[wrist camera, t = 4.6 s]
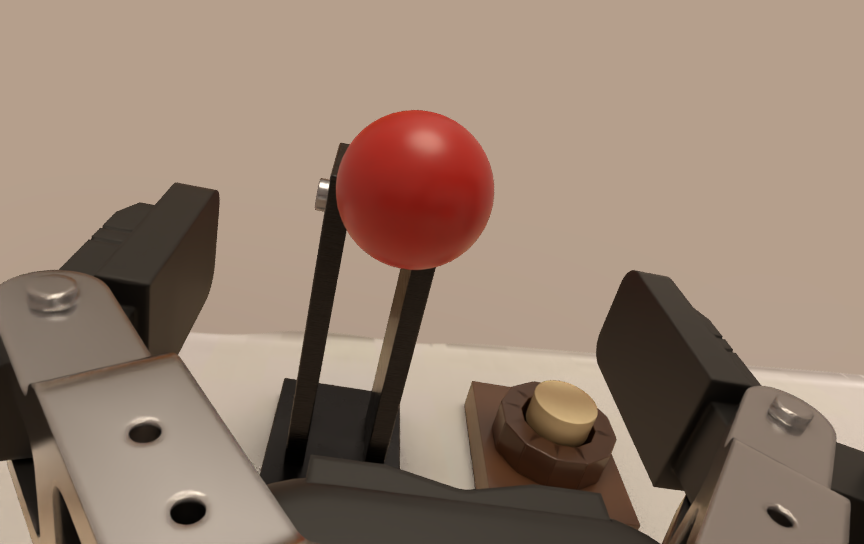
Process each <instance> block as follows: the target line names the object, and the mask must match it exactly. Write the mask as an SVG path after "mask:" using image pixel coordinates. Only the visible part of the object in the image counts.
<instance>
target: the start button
mask: <svg viewBox="0 0 864 544" xmlns="http://www.w3.org/2000/svg"><path fill="white" fill-rule="evenodd" d="M597 415H598V410H597V406H596V404H595V402H594V401H593V399H592V398H591V397H590V396H589V395H588V394H587V393H585V392H584V391H583V390H581V389H579V388H578V387H576V386H574V385H571V384H569V383H566V382H562V381H556V380H550V381H544V382H542V383H540V384H539V385H537V387H536V388H535V391H534V393H533V396H532V399H531V401H530V404H529V406H528V409H527V412H526V420H527V423H528V425H529V426H530V427H531V428H532V429H533V430H534V431H535V432H536V433H537V434H538V435H539V436H541V437H543V438H545V439H547V440H549V441H551V442H553V443H555V444H557V445H562V446H568V447H578V446H580V445H582V444H583V443H584V442H585V441H586V440H587V437H588V435H589V433H590V431H591V429H592V426H593V424H594V422H595V420H596V418H597Z"/></svg>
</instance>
